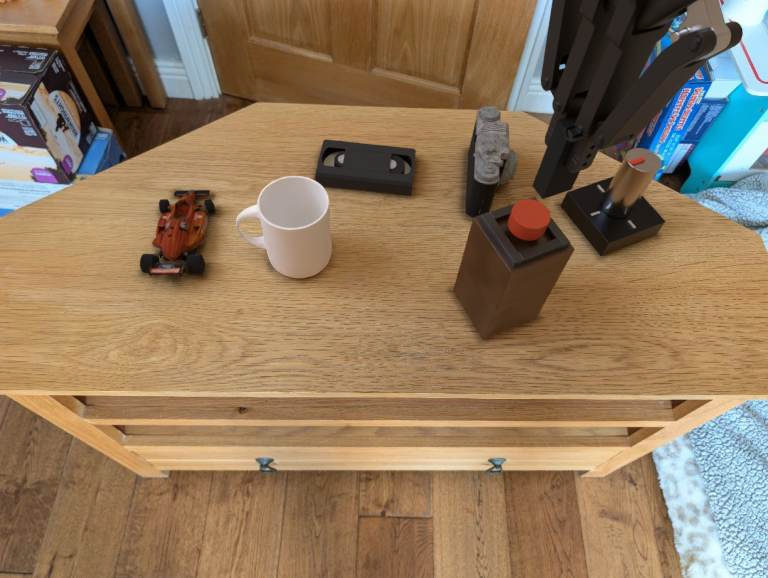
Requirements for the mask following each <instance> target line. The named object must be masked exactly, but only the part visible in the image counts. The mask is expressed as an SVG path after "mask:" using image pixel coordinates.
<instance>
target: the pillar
mask: <svg viewBox="0 0 768 578" xmlns="http://www.w3.org/2000/svg"><path fill="white" fill-rule="evenodd" d="M528 199H531V200H536V201H538V202H540V201H539V200H538V199H537V197H536V196H533V197H530V198H528ZM516 203H517V202H514V203H512V204H509V205H506V206H503V207H501V208H500V207H499V208H497V209H494V210H491V211H489V212H488V213H485V214H482V215H480V216H477V217H474V218H472V222H471V225H470V228H469V232H468V236H467V240H466V243H465V246H464V250H463V253H462V256H461V261H460V264H459V268H458V271H457V276H456V278H455V282H454V286H453V290H452V292H453V293H454V295H455V297H456V298H457V300H458V302H459V303H460V306H461V307H462V308H463V310H464V311H465V313H466V315H467V316H468V318H469V320H470V321H471V323H472V325H473V326H474V328H475V330H476V331H477V333H478V334H479V336H480V338H481V340H483V341H484V340H487V339H490V338H492V337H495V336H497V335H500V334H502V333H504V332H506V331H509V330H512V329H515V328H516V327H519V326H522V325H524V324H526V323H529V322H531V321H534V320H536V319H537V318H538V316H539V314H540V312H541V311H542V309H543V308H544V305H545V303H546V302H547V300H548V298H549V297H550V295H551V294H552V291H553V289H554V288H555V285H557V282H558V280H559V278H560V277H561V275H562V274H563V271H564V270H565V268H566V266H567V264H568V263H569V261H570V259H571V257H572V255H573V253H574V252H575V247H574V245H572V243H571V241H570V240H569V238H568V237H567V236H566V234H565V233H564V232H563V231H562V229H561V228H560V226H559V225H558V224H557V223H556V222H555V220H554V219H553V218H552V217H551V219H550V222H549V224H548V226H547V228H546V230H545V233H544V234H543V236H542V237H540V238H539V239H537V240H532V241H527V240H522V239H520V238H518V237H516V236H515V235H513V234H512V233H511V231H510V230H509V227H508V219H509V217H510V214H511V211H512V208H513V206H514V205H515V204H516Z"/></svg>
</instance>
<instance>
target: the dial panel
mask: <svg viewBox="0 0 768 578" xmlns="http://www.w3.org/2000/svg"><path fill="white" fill-rule="evenodd" d="M614 176H615V175H613V176H610V177H607V178H604V179H602V180H598V181H594V182H593V183H590V184H587V185H584V186H581V187H579V188H575V189H571V190H569V191H566V193H565V195H564V197H563V200H562V202H561V204H560V207H561V208H562V210H563V211H564V213H565V214H567V216H568V217H569V219H570V220H571V221H572V223H574V225H575V226H576V228H578V230H579V231H580V232H581V234H582V235H583V236H584V237H585V239H586V240H587V241H588V242H589V244H590V245H591V246H592V248H594V250H595V251H596V252H597V254H598V255H599V256H600V257H602V256H604V255H607V254H610V253H613V252H614V251H617V250H620V249H624V248H625V247H628V246H631V245H633V244H636V243H638V242H641V241H643V240H647V239H649V238H651V237H654V236H656V235H658V233H659V232H660V230H661V229H662V228H663V226H664V225H665V224H666V222H667V221H666V219H664V218H663V216H662V215H660V213H659V212H658V211H657V210H656V208H654V207H653V205H652V204H651V203H650V202H649V201H648V200H647V199H646V198H645V197H644V195H642V196H641V198H640V200H639V201H638V203H637V204H636V206H635V207H634V209H633V210H632V212H631V214H630V215H629V216H627V217H624V218H615V217H612V216H610V215H608V214H607V213H606V212H604V210H603V209H602V207H601V199H602V198H603V196H604V194H605V192H606V190H607V189H608V187H609V185H610V183H611V181H612V180H613V178H614Z"/></svg>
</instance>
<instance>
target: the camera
mask: <svg viewBox="0 0 768 578" xmlns="http://www.w3.org/2000/svg"><path fill="white" fill-rule="evenodd" d="M501 114H502V113H501V111H500V110H499V109H498V107H496V106H494V105H485V106H482V107H480V108H478V109H477V112H476V118H475V122H474V127H473V130H472V135H471V139H470V143H469V148H468V150H467V162H466V163H467V165H466V184H465V185H466V187H465V203H464V204H465V205H464V206H465V207H464V209H465V210H464V214H465V215H466V216H467V217H468V218H471V219H473V218H474V217H477V216H480V215H482V214H485V213H488V212H491V211H490V210H491V208H492V205H493V201H494V199H495V198H494V197H495V195H496V193H497V188H499V186H500V185H505V184H506V183H509V182H510V181H513V180H514V179H515V176H516V173H517V168H518V161H519V155H518V152H516V151H515V150H514V149H512V148H511V146H510V124H509V123H507V122H502V117H501V116H502V115H501Z"/></svg>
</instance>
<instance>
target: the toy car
mask: <svg viewBox="0 0 768 578" xmlns="http://www.w3.org/2000/svg"><path fill="white" fill-rule="evenodd" d="M210 193H211V192H210V189H197V190H194V189H191V190H175V191H174V193H173V196H174V197H180V196H181V197H180V198H179V199H178V200H176V201H175V203H174V204H173V205H172V204H171V203H170V201H169V199H168V198H163V199H161V198H160V199H159V201H158V209H159V212H160V214H161V215H160V217H159V218H158V221H157V224H156V229H155V238H154V239H153V240H152V242H151V245H152V247H154V248H159V249H160V251H159V253H156V252H155V253H143V254H142V255H141V256H140V259H139V267H140V270H141V272H142V273H143V274H148V275H149V276H150V277H151V276H152V275H168V276H176V275H179V277H182V275H183V273H184V269H186V271H187V273H188V274H189V275H203V273H204V272H205V268H206V261H205V258H204V256H203V254H197V251H198V248H199V246H201V245H203V244H204V243H205V241H206V239H207V237H206V233H207V228H208V224H209V223H208V222H209V219H208V215H213V214H216V211H217V209H216V206H215V202H214V201H213V199H212V198H206V199H204V201H203V205H201V204H196V196H200V197H201V196H209V195H210ZM203 207H205V209H206V212H207V213H206V212H203V211H200V210H201V208H203ZM207 214H208V215H207ZM163 256H164V258H166V259H167V260H168V261H167V262H164V263H162V262H160V259H162V257H163ZM184 256H185V258H186V262H185V259H182V258H183V257H184Z"/></svg>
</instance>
